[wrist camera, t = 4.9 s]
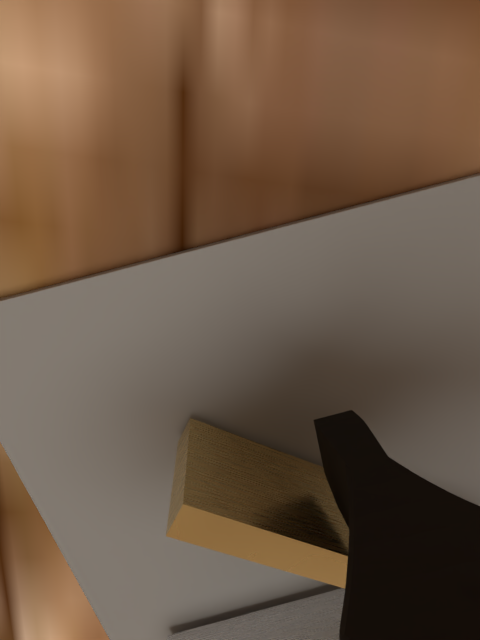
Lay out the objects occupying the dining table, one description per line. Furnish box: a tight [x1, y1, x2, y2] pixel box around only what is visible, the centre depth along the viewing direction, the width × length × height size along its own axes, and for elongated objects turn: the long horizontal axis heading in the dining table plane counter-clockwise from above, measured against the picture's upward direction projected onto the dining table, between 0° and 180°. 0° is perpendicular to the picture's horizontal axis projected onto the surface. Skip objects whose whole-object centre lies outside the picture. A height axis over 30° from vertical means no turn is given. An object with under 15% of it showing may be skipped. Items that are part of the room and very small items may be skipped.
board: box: [0, 173, 480, 640], centre depth 13 cm, size 19×19×1 cm
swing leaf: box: [166, 418, 349, 589], centre depth 11 cm, size 3×13×4 cm, turn 64°
